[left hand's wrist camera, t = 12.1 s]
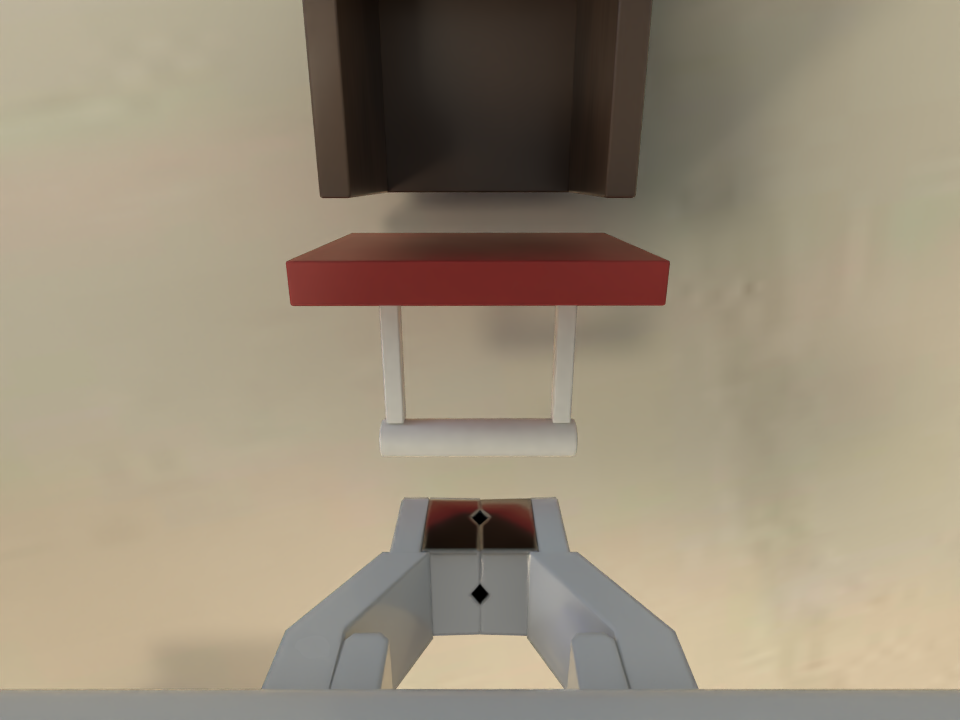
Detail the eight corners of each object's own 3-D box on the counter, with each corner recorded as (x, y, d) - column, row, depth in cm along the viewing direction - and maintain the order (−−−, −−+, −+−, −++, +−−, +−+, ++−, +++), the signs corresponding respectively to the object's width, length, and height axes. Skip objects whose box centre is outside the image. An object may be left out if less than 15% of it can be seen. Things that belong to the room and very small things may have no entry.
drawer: (594, 396, 24) (645, 493, 16) (363, 396, 24) (311, 494, 16) (641, -281, 17) (770, -642, 9) (312, -282, 16) (182, -642, 9)
